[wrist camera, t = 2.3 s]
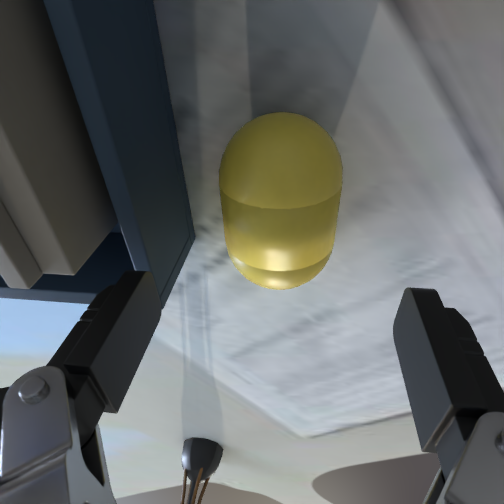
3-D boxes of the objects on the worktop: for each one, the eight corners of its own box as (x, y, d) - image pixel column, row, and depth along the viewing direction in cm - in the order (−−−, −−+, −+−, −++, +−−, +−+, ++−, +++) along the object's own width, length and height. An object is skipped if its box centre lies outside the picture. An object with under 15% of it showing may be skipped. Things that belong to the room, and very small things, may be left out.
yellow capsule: (226, 98, 15) (196, 137, 11) (344, 96, 14) (360, 138, 10) (238, 244, 20) (220, 308, 16) (326, 248, 19) (331, 316, 15)
